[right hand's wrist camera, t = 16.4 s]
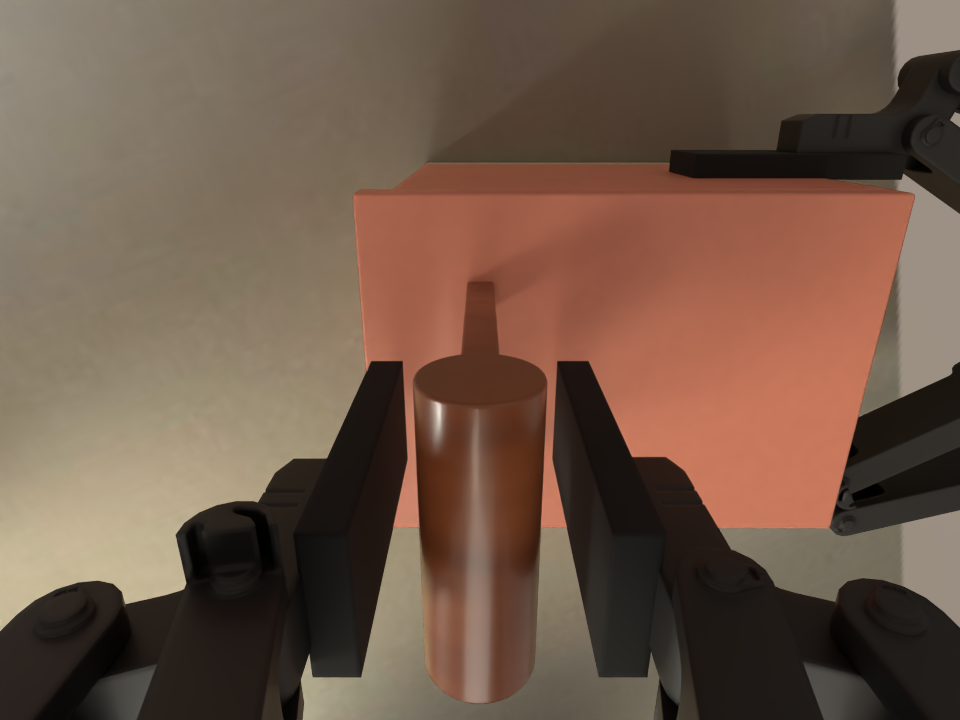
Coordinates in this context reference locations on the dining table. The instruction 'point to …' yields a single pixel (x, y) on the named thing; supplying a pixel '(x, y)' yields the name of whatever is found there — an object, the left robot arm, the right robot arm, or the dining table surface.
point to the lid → (611, 368)
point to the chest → (590, 177)
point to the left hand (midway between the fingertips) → (663, 319)
